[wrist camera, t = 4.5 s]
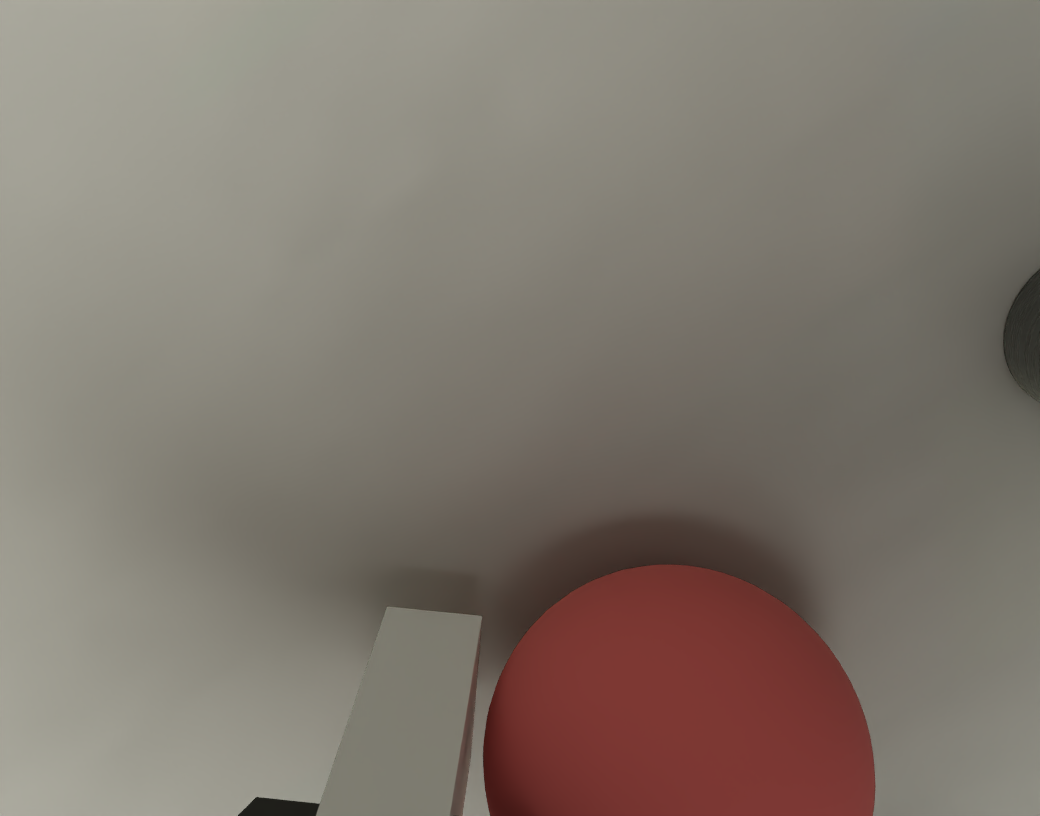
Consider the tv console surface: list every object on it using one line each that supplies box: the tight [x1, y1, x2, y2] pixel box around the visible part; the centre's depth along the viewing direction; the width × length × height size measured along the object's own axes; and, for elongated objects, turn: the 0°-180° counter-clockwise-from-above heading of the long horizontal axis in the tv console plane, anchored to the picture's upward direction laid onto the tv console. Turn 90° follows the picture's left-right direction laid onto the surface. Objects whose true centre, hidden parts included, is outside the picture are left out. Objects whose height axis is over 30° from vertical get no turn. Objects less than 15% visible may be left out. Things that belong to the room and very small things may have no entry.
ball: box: [483, 565, 875, 816], centre depth 13 cm, size 6×6×6 cm
